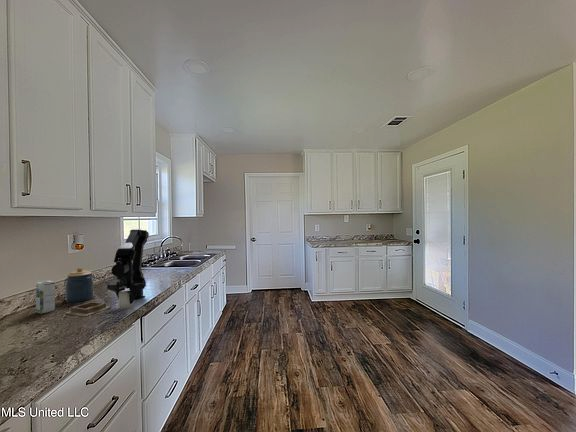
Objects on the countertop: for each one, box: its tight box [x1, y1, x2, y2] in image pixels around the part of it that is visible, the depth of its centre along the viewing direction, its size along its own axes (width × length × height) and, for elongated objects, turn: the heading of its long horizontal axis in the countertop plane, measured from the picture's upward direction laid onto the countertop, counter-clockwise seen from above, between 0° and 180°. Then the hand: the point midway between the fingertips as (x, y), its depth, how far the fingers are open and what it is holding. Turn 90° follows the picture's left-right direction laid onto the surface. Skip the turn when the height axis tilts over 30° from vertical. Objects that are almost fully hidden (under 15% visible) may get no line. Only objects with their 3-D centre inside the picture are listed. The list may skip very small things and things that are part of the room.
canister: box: [64, 267, 95, 303], centre depth 156 cm, size 13×13×18 cm
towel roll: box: [118, 289, 134, 310], centre depth 141 cm, size 6×6×8 cm
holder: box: [64, 301, 112, 318], centre depth 136 cm, size 13×13×3 cm
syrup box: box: [35, 280, 56, 314], centre depth 136 cm, size 6×6×14 cm
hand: (126, 303), depth 141 cm, fingers closed on towel roll, 6 cm apart
